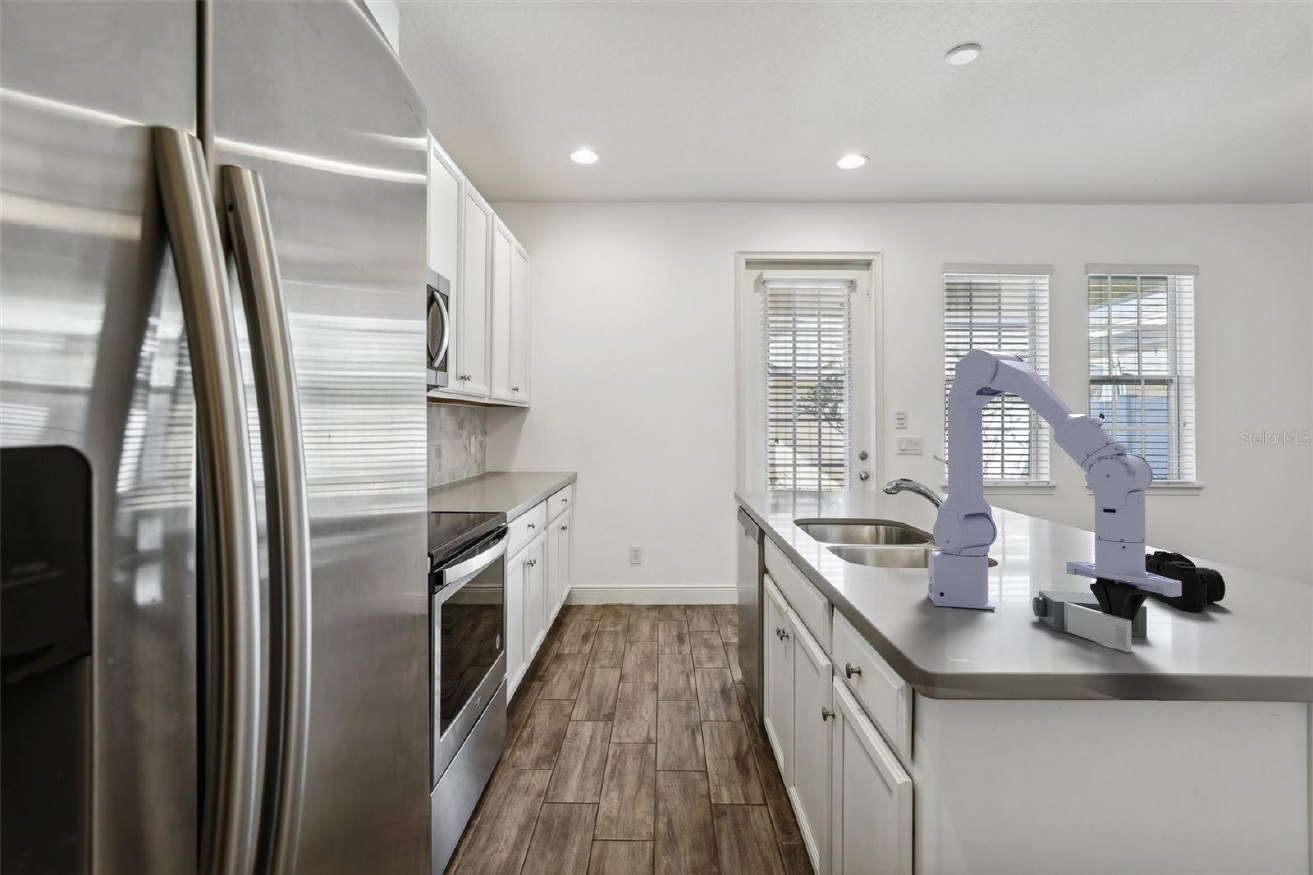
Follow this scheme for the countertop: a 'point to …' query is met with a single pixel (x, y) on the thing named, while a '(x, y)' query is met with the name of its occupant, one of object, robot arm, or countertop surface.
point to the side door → (1098, 626)
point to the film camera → (1186, 581)
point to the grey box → (1052, 605)
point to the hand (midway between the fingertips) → (1119, 635)
